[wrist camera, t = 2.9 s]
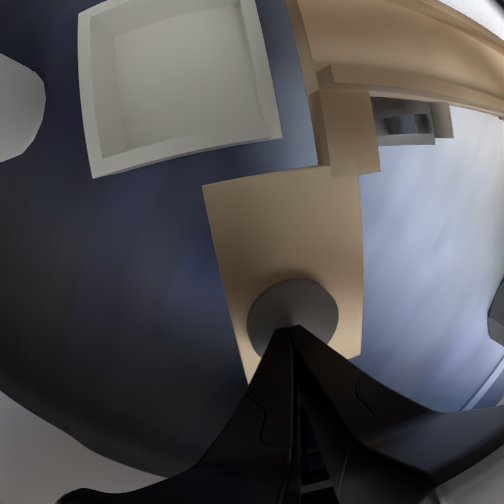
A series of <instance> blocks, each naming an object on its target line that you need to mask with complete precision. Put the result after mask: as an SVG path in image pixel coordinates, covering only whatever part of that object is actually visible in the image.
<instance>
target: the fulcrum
mask: <svg viewBox="0 0 504 504" xmlns="http://www.w3.org/2000/svg"><path fill="white" fill-rule="evenodd" d="M370 99H371V104H372V110H373V116H374V123H375V129H376V136H377V144H378V146H387V145H435V139H434V130H433V122H432V115H431V110H430V104H429V102H426V101H418V100H410V99H400V98H389V97H374V96H370Z"/></svg>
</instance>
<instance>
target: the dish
mask: <svg viewBox="0 0 504 504" xmlns="http://www.w3.org/2000/svg"><path fill="white" fill-rule="evenodd" d="M78 71H79V87H80V99H81V109H82V117H83V125H84V132H85V139H86V145H87V152H88V157H89V163H90V168H91V173H92V178H93V179H94V178H98V177H103V176H107V175H112V174H117V173H122V172H125V171H129V170H132V169H136V168H139V167H143V166H147V165H150V164H154V163H158V162H162V161H166V160H170V159H174V158H179V157H183V156H187V155H192V154H196V153H201V152H206V151H211V150H216V149H221V148H227V147H232V146H238V145H244V144H250V143H256V142H263V141H270V140H277V139H280V138H283V137H282V131H281V125H280V119H279V114H278V108H277V103H276V97H275V92H274V87H273V81H272V76H271V71H270V66H269V61H268V57H267V52H266V47H265V43H264V38H263V33H262V29H261V25H260V20H259V16H258V12H257V8H256V4H255V0H107V1H104V2H102V3H100V4H98V5H95V6H93V7H91V8H89V9H87V10H85V11H83V12H81V13H79V14H78Z"/></svg>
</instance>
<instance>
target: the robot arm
mask: <svg viewBox="0 0 504 504" xmlns="http://www.w3.org/2000/svg"><path fill="white" fill-rule="evenodd" d="M298 389H299V392H300V395H301V398H302V401H303V404H304V406H305V409H303V410H299V396H298ZM55 504H504V405H499V406H494V407H488V408H482V409H475V410H468V411H459V412H440V411H436V410H433V409H430V408H428V407H426V406H424V405H422V404H420V403H418V402H416V401H414V400H412V399H410V398H408V397H406V396H404V395H402V394H400V393H398V392H396V391H395V390H393V389H391V388H389V387H387V386H386V385H384V384H382V383H381V382H379V381H378V380H376V379H375V378H373V377H372V376H370V375H369V374H367V373H366V372H365V371H362V369H360V368H359V367H357V366H356V365H355V364H353V363H352V362H351V361H349V360H348V359H346V358H345V357H344V356H342V355H341V354H340V353H338V352H337V351H335V350H334V349H333V348H331V347H330V346H329V345H327V344H326V343H325V342H323V341H322V340H320V339H319V338H318V337H316V336H315V335H314V334H312V333H311V332H310V331H308V330H307V329H306V328H304V327H303V326H302V325H294V326H289V327H288V328H287V327H283V328H277V329H275V330H274V332H273V334H272V336H271V339H270V341H269V343H268V345H267V347H266V349H265V352H264V354H263V356H262V358H261V360H260V362H259V364H258V366H257V368H256V371H255V373H254V375H253V377H252V379H251V381H250V383H249V385H248V387H247V389H246V391H245V393H244V395H243V397H242V399H241V401H240V403H239V405H238V407H237V408H236V410H235V412H234V414H233V415H232V417H231V418H230V420H229V421H228V423H227V424H226V426H225V427H224V429H223V430H222V431H221V433H220V434H219V435H218V437H217V438H216V439H215V441H214V442H213V443H212V445H211V446H210V447H209V448H208V450H207V451H206V452H205V454H204V455H203V456H202V457H201V459H200V460H199V461H198V462H197V463H196V464H195V465H194V466H192V467H191V468H190V469H188V470H187V471H185V472H182V473H180V474H178V475H175V476H173V477H170V478H168V479H165V480H163V481H160V482H157V483H155V484H152V485H149V486H147V487H144V488H141V489H138V490H135V491H131V492H126V493H104V492H100V491H96V490H92V489H88V488H80V489H77V490H74V491H71V492H69V493H67V494H65V495H63V496H61V497H60V498H59V499H58V500H57V501H56V503H55Z"/></svg>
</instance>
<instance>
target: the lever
mask: <svg viewBox="0 0 504 504" xmlns="http://www.w3.org/2000/svg"><path fill="white" fill-rule="evenodd" d="M284 1H285V5H286V9H287V12H288V16H289V20H290V24H291V27H292V31H293V35H294V40H295V44H296V48H297V52H298V57H299V61H300V66H301V70H302V75H303V80H304V85H305V90H306V95H307V97H308V103H309V108H310V114H311V120H312V125H313V132H314V138H315V144H316V151H317V158H318V165H316V166H309V167H302V168H295V169H288V170H282V171H276V172H270V173H264V174H258V175H253V176H247V177H242V178H236V179H231V180H226V181H221V182H216V183H211V184H207V185H202V190H203V195H204V200H205V205H206V210H207V214H208V219H209V224H210V229H211V233H212V238H213V243H214V247H215V252H216V256H217V261H218V265H219V270H220V274H221V279H222V283H223V287H224V292H225V296H226V300H227V304H228V309H229V313H230V317H231V321H232V325H233V329H234V333H235V337H236V341H237V345H238V349H239V353H240V357H241V361H242V364H243V368H244V372H245V376H246V379H247V382H248V385H249V383H250V381H251V379H252V377H253V375H254V373H255V371H256V368H257V366H258V364H259V362H260V360H261V358H262V356H263V354H264V352H265V349H266V347H267V345H268V343H269V341H270V339H271V336H272V334H273V332H274V330H275V329H277V328H283V327H287V328H288V327H289V326H294V325H302V326H303V327H304V328H306V329H307V330H308V331H310V332H311V333H312V334H314V335H315V336H316V337H318V338H319V339H320V340H322V341H323V342H325V343H326V344H327V345H329V346H330V347H331V348H333V349H334V350H335V351H337V352H338V353H340V354H341V355H342V356H344V357H345V358H346V359H350V358H353V357H355V356H357V355H360V350H361V334H362V312H363V244H362V221H361V206H360V193H359V182H358V175H359V174H366V173H374V172H380V161H379V152H378V144H377V136H376V129H375V123H374V116H373V110H372V104H371V99H370V96H374V97H389V98H400V99H410V100H418V101H426V102H429V103H430V109H431V115H432V122H433V130H434V138H453V129H452V122H451V115H450V108H449V105H451V106H456V107H462V108H466V109H471V110H476V111H480V112H484V113H488V114H492V115H496V116H499V119H501V120H504V41H503V40H502V39H501V38H499V37H498V36H497V35H495V34H494V33H492V32H491V31H489V30H488V29H486V28H485V27H483V26H482V25H480V24H479V23H477V22H476V21H474V20H472V19H471V18H469V17H467V16H466V15H464V14H462V13H460V12H459V11H457V10H455V9H453V8H451V7H449V6H448V5H446V4H444V3H442V2H440V1H438V0H284Z"/></svg>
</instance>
